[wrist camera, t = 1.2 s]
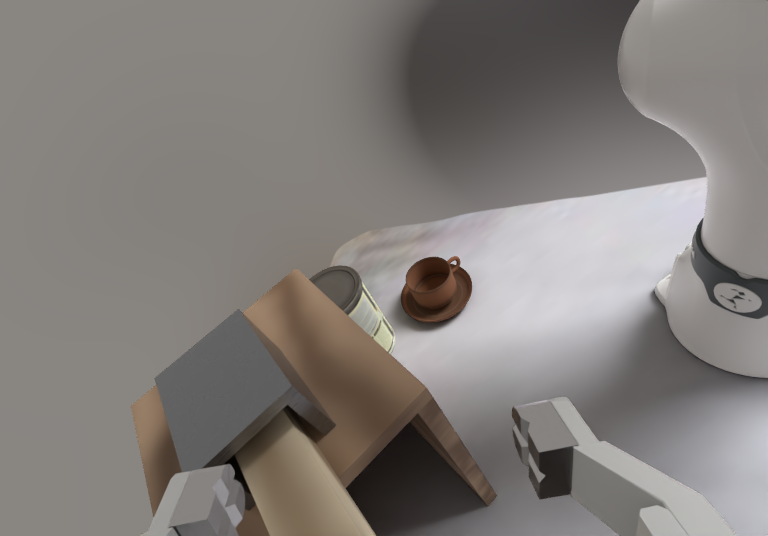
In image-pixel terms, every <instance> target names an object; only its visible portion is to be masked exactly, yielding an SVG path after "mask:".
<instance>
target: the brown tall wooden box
mask: <svg viewBox="0 0 768 536" xmlns="http://www.w3.org/2000/svg"><path fill="white" fill-rule="evenodd" d="M243 314H244V315H245V316H246V317H247V318H248V319H249V320H250V321H251V322H252V323H253V324H254V325H255V326H257V327H258V328H259V329H260V330H261V331H262V332H263V333H264V334H265V335H266V336H267V337H268V338H269V339H270V340H271V341H272V342H273V343H274V344H275V345H276V346H277V347H278V348H279V349H280V350H281V351H282V353H283V354H284V355H285V357H286V358H287V359H288V361H289V362H290V363H291V365H292V366H293V367H294V369H295V370H296V371H297V373H298V374H299V376H300V377H301V378H302V380H303V381H304V382H305V384H306V385H307V386H308V388H309V389H310V390H311V392H312V393H313V394H314V396H315V397H316V398H317V400H318V401H319V403H320V404H321V405H322V407H323V408H324V409H325V411H326V412H327V413H328V415H329V416H330V417H331V419H332V420H333V421H334V423H335V424H336V426H335V427H334V428H333V429H332V430H331V431H330V432H329V433H328V434H327V435H326V436H325V435H324V434H323V433H321V432H320V431H319V430H318V429H316V428H315V427H314V426H313V425H311V424H310V423H309V422H308V421H307V420H305V419H304V418H303V417H302V416H300V415H299V414H298V413H297V412H296V411H295V412H296V414H297V415H298V417H299V418H300V420H301V421H302V423H303V424H304V426H305V427H306V429H307V431H308V432H309V434H310V435H311V437H312V438H313V440H314V441H315V443H316V444H317V446H318V447H319V449H320V450H321V452H322V453H323V455H324V456H325V458H326V460H327V461H328V463H329V464H330V466H331V467H332V469H333V470H334V472H335V473H336V475H337V476H338V478H339V479H340V481H341V482H342V484H343V485H344V487H345V488H346V487H347V486H348V485H349V484H350V483H351V482H352V481H353V480H354V479H355V478H356V477H357V476H358V475H359V474H360V473H361V472H362V471H363V470H364V468H365V467H366V466H367V465H368V464H369V463H370V462H371V461H372V460H373V459H374V458H375V457H376V456H377V455H378V454H379V453H380V452H381V451H382V450H383V449H384V448H385V447H386V446H387V445H388V444H389V442H390V441H391V440H392V439H393V438H394V437H395V436H396V435H397V434H398V433H399V432H400V431H401V430H402V429H403V428H404V427H405V426H406V425H407V424H408V423H410V424H411V425H412V426H413V427H414V428H415V429H416V430H417V431H418V432H419V433H420V434H421V436H422V437H423V438H424V439H425V440H426V441H427V442H428V443H429V444H430V445H431V446H432V447H433V448H434V449H435V450H436V451H437V452H438V454H439V455H440V456H441V457H442V458H443V459H444V460H445V461H446V462H447V463H448V464H449V465H450V466H451V467H452V468H453V469H454V471H455V472H456V473H457V474H458V475H459V476H460V477H461V478H462V479H463V480H464V481H465V482H466V483H467V484H468V485H469V486H470V487H471V489H472V490H473V491H474V492H475V493H476V494H477V495H478V496H479V497H480V498H481V499H482V500H483V501H484V502H485V503H486V504H487V506H489V505H490V503H491V502H492V501H493V500H494V499H495V498H496V496H497V495H496V493H495V492H494V490H493V488H492V487H491V485H490V484H489V482H488V481H487V479H486V478H485V476H484V475H483V473H482V472H481V470H480V469H479V467H478V466H477V464H476V462H475V461H474V459H473V458H472V456H471V455H470V453H469V452H468V450H467V449H466V447H465V446H464V444H463V443H462V441H461V440H460V438H459V436H458V435H457V433H456V432H455V430H454V429H453V427H452V426H451V424H450V423H449V421H448V420H447V418H446V417H445V415H444V414H443V412H442V410H441V409H440V407H439V406H438V404H437V403H436V401H435V400H434V398H433V397H432V395H431V394H430V392H429V391H428V389H427V388H426V387H425V386H424V385H423V384H422V383H421V382H420V381H419V380H418V379H417V378H416V377H414V376H413V375H412V374H411V373H410V372H409V371H408V370H407V369H406V368H405V367H404V366H402V365H401V364H400V363H399V362H398V361H397V360H396V359H395V358H394V357H393V356H392V355H390V354H389V353H388V352H387V351H386V350H385V349H384V348H383V347H382V346H381V345H380V344H378V343H377V342H376V341H375V340H374V339H373V338H372V337H371V336H370V335H369V334H368V333H366V332H365V331H364V330H363V329H362V328H361V327H360V326H359V325H358V324H357V323H356V322H354V321H353V320H352V319H351V318H350V317H349V316H348V315H347V314H346V313H345V312H343V311H342V310H341V309H340V308H339V307H338V306H337V305H336V304H335V303H334V302H333V301H331V300H330V299H329V298H328V297H327V296H326V295H325V294H324V293H323V292H322V291H321V290H319V289H318V288H317V287H316V286H315V285H314V284H313V283H312V282H311V281H310V280H309V279H307V278H306V277H305V276H304V275H303V274H302V273H301V272H300V271H298V269H295V270H294V271H292V272H291V273H290V274H289V275H288V276H286V277H285V278H284V279H283V280H282V281H280V282H279V283H278V284H277V285H275V286H274V287H273V288H272V289H271V290H269V292H267V293H266V294H265V295H263V296H262V297H261V298H260V299H259V300H257V301H256V302H255V303H254V304H253V305H251V306H250V307H249V308H248V309H247V310H245V311H244V312H243ZM131 409H132V414H133V419H134V424H135V429H136V433H137V438H138V443H139V448H140V453H141V458H142V463H143V468H144V473H145V477H146V482H147V488H148V493H149V497H150V502H151V507H152V512H153V517H154V516H155V514H156V511H157V509H158V507H159V504H160V502H161V500H162V498H163V495H164V493H165V491H166V489H167V486H168V484H169V482H170V480H171V478H172V477H173V476H174V475H175V474H176V473H182V470H181V467H180V464H179V460H178V457H177V453H176V450H175V446H174V443H173V440H172V436H171V433H170V429H169V426H168V423H167V419H166V416H165V412H164V409H163V405H162V402H161V399H160V395H159V392H158V388H157V385H155V386H154V387H153V388H152V389H151V390H149V391H148V392H147V393H146V394H145V395H143V396H142V397H141V398H140V399H139V400H137V401H136V402H135V403H134V404H133V405H131ZM235 529H236V531H237V533H238V535H239V536H270V535H269V532H268V530H267V528H266V525H265V523H264V521H263V519H262V516H261V514H260V512H259V509H258V507H257V505H255V506H254V507H253V508H252V509H251V510H250V511H247V510H244V515H243V519H242V520H241V521H240V523H239V524H238V525H237V526H236V528H235Z"/></svg>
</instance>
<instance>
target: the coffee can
mask: <svg viewBox="0 0 768 536" xmlns="http://www.w3.org/2000/svg"><path fill="white" fill-rule="evenodd" d="M309 280H310V281H311V282H312V283H313V284H314V285H315V286H316V287H317V288H318V289H319V290H321V291H322V292H323V293H324V294H325V295H326V296H327V297H328V298H329V299H330V300H331V301H333V302H334V303H335V304H336V305H337V306H338V307H339V308H340V309H341V310H342V311H343V312H345V313H346V314H347V315H348V316H349V317H350V318H351V319H352V320H353V321H354V322H356V323H357V324H358V325H359V326H360V327H361V328H362V329H363V330H364V331H365V332H366V333H368V334H369V335H370V336H371V337H372V338H373V339H374V340H375V341H376V342H377V343H378V344H380V345H381V346H382V347H383V348H384V349H385V350H386V351H387V352H388V353H389V354H391V353H392V351H393V348H394V345H395V332H394V330H393V328H392V327H391V325H390V324H389V323H388V321H387V320H386V318H385V317H384V315H383V313H382V312H381V310H380V309H379V307H378V306H377V304H376V303H375V301H374V300H373V298H372V296H371V295H370V293H369V292H368V290H367V289H366V287H365V286H364V284H363V283H362V281H361V278H360V276H359V274H358V273H357V272H356V271H355V270H354V269H353V268H351V267H348V266H333V267H330V268H327V269H325V270H322V271H321V272H319V273H317V274H316V275H315V276H313V277H312V278H311V279H309Z"/></svg>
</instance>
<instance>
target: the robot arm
mask: <svg viewBox="0 0 768 536" xmlns="http://www.w3.org/2000/svg"><path fill="white" fill-rule="evenodd" d="M618 71H619V77H620V82H621V85H622V87H623V90H624V92H625V94H626V96H627V98H628V99H629V101H630V102H631V103H632V104H633V106H634V107H635V108H636V109H637V110H638V111H639V112H641V113H642V114H643V115H644V116H646V117H648V118H651V119H653V120H655V121H658V122H660V123H662V124H664V125H666V126H668V127H669V128H671V129H672V130H674V131H675V132H677V133H678V134H679V135H681V136H682V137H683V138H685V139H686V140H687V141H688V142H689V143H690V144H691V145H692V146H693V148H694V149H695V150H696V151H697V153H698V154H699V156H700V157H701V159H702V161H703V163H704V165H705V168H706V172H707V197H706V206H705V213H704V218H703V219H702V220H701V221H700V223H699V225H698V226H697V229H696V231H695V233H694V236H693V239H692V243H690V244H688V245H687V247H686V248H685V251H684V252H683V253H679V254H678V255H677V257H676V259H675V262H674V266H673V269H672V273H670V274H669V275H668V276H666V277H665V278H664V279H662V280H661V281H659V282H658V283H657V285H656V287H655V294H656V296H657V297H658V299H659V300H660V301H661V302H662V304H663V305H664V306H665V308H666V311H667V317H668V322H669V325H670V328H671V330H672V332H673V334H674V335H675V337H676V338H677V339H678V341H679V342H680V343H681V344H682V345H683V346H684V347H685V348H686V349H687V350H689V351H690V352H691V353H692V354H694V355H695V356H697V357H698V358H700V359H701V360H703V361H705V362H707V363H709V364H711V365H713V366H715V367H718V368H720V369H723V370H726V371H729V372H732V373H736V374H740V375H746V376H752V377H762V378H768V0H640V1H639V3H638V4H637V6H636V7H635V9H634V11H633V13H632V14H631V16H630V18H629V20H628V23H627V25H626V27H625V30H624V32H623V35H622V39H621V42H620V48H619V53H618ZM512 417H513V419H514V422H515V426H514V427H513V437H514V441H515V446H516V449H517V451H518V454H519V456H520V459H521V461H522V463H524V464H525V465H527V466H528V467H529V478H530V480H531V482H532V485H533V487H534V489H535V491H536V493H537V495H538V497H539V499H546V498H551V497H557V496H563V495H569V494H571V496H572V497H573V498H574V499H576V500H577V501H578V502H579V503H581V504H582V505H583V506H584V507H585V508H587V509H588V510H589V511H590V512H592V513H593V514H594V515H595V516H596V517H598V518H599V519H600V520H601V521H603V522H604V523H605V524H606V525H607V526H609V527H610V528H611V529H612V530H614V531H615V532H616V533H617V534H618V535H620V536H738V535H737V534H736V533H735V532H734V531H733V530H732V528H731V527H730V526H729V525H728V524H727V523H726V521H725V520H724V519H723V518H722V517H721V516H720V514H719V513H718V512H717V511H716V510H715V509H714V508H713V506H712V505H711V504H710V503H709V502H708V501H707V499H706V498H705V497H704V496H703V495H702V494H700V493H698V492H696V491H695V490H693V489H691V488H689V487H687V486H686V485H684V484H682V483H680V482H678V481H677V480H675V479H673V478H671V477H669V476H667V475H666V474H664V473H662V472H660V471H658V470H657V469H655V468H653V467H651V466H649V465H648V464H646V463H644V462H642V461H640V460H639V459H637V458H635V457H633V456H631V455H630V454H628V453H626V452H624V451H622V450H620V449H619V448H617V447H615V446H613V445H611V444H610V443H608V442H606V441H598V439H597V438H596V437H595V435H594V434H593V432H592V431H591V430H590V428H589V427H588V425H587V424H586V423H585V421H584V420H583V418H582V417H581V416H580V414H579V413H578V411H577V410H576V408H575V407H574V406H573V404H572V403H571V401H570V400H569V399H568V398H567V397H565V396H562V397H557V398H553V399H548V400H542V401H537V402H533V403H528V404H523V405H519V406H514V407H513V408H512ZM234 475H235V471H234V469H233V467H232V466H231V464H227V465H221V466H215V467H209V468H203V469H198V470H193V471H188V472H182V473H176V474H175V475H174V476H173V477H172V478H171V480H170V482H169V484H168V486H167V489H166V491H165V493H164V495H163V498H162V500H161V502H160V504H159V507H158V509H157V511H156V514H155V516H154V518H153V521H152V523H151V525H150V527H149V530H148V532H146V533H142V534H141V535H140V536H239V535H238V533H237V531H236V529H235V528H236V526H237V525H238V524H239V523H240V521H241V520H242V519H243V515H244V510H245V494H244V489H243V487H242V485H241V483H240V482H238V481H237V480H235V479H233V478H234Z"/></svg>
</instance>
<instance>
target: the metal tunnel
mask: <svg viewBox="0 0 768 536" xmlns="http://www.w3.org/2000/svg"><path fill="white" fill-rule="evenodd" d="M155 381H156V385H157V388H158V392H159V395H160V399H161V402H162V405H163V409H164V412H165V416H166V419H167V423H168V426H169V429H170V433H171V436H172V440H173V443H174V446H175V450H176V453H177V457H178V460H179V464H180V467H181V470H182V472H188V471H193V470H198V469H203V468H209V467H215V466H221V465H227V464H231V466H232V467H233V469H234V471H235V475H234V478H233V479H235V480H237V481H238V482H240V483H241V485H242V487H243V489H244V494H245V510H247V511H250V510H251V509H252V508H253V507H254V506H255V505H256V502H255V500H254V498H253V496H252V493H251V491H250V489H249V486H248V484H247V482H246V480H245V477H244V475H243V473H242V470H241V468H240V466H239V463H238V461H237V459H236V457H235V453H236V452H237V451H238V450H240V449H241V448H242V447H243V446H244V445H245V444H246V443H247V442H248V441H249V440H250V439H251V438H252V437H254V436H255V435H256V434H257V433H258V432H259V431H260V430H261V429H262V428H263V427H264V426H265V425H266V424H267V423H269V422H270V421H271V420H272V419H273V418H274V417H275V416H276V415H277V414H278V413H279V412H280V411H281V410H283V409H284V408H285V407H286V406H287V405H288V406H289V407H291V408H292V409H293V410H294V411H296V412H297V413H298V414H299V415H300V416H302V417H303V418H304V419H305V420H307V421H308V422H309V423H310V424H311V425H313V426H314V427H315V428H316V429H318V430H319V431H320V432H321V433H323V434H324V435H325V436H326V435H327V434H328V433H329V432H330V431H331V430H332V429H333V428H334V427H335V426H336V424H335V423H334V421H333V420H332V419H331V417H330V416H329V415H328V413H327V412H326V411H325V409H324V408H323V407H322V405H321V404H320V403H319V401H318V400H317V398H316V397H315V396H314V394H313V393H312V392H311V390H310V389H309V388H308V386H307V385H306V384H305V382H304V381H303V380H302V378H301V377H300V376H299V374H298V373H297V371H296V370H295V369H294V367H293V366H292V365H291V363H290V362H289V361H288V359H287V358H286V357H285V355H284V354H283V353H282V351H281V350H280V349H279V348H278V347H277V346H276V345H275V344H274V343H273V342H272V341H271V340H270V339H269V338H268V337H267V336H266V335H265V334H264V333H263V332H262V331H261V330H260V329H259V328H258V327H257V326H255V325H254V324H253V323H252V322H251V321H250V320H249V319H248V318H247V317H246V316H245V315H244V314H243V313H242V312H241V311H240V310H239V309H238V310H237V311H235V312H234V313H233V314H232V315H230V316H229V317H228V318H227V319H226V320H224V321H223V322H222V323H221V324H220V325H218V326H217V327H216V328H215V329H214V330H213V331H211V332H210V333H209V334H208V335H206V336H205V337H204V338H203V339H202V340H200V341H199V342H198V343H197V344H195V345H194V346H193V347H192V348H191V349H189V350H188V351H187V352H186V353H185V354H183V355H182V356H181V357H180V358H179V359H177V360H176V361H175V362H174V363H172V364H171V365H170V366H169V367H168V368H166V369H165V370H164V371H163V372H162V373H160V374H159V375H158V376H157V377H156V378H155Z"/></svg>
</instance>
